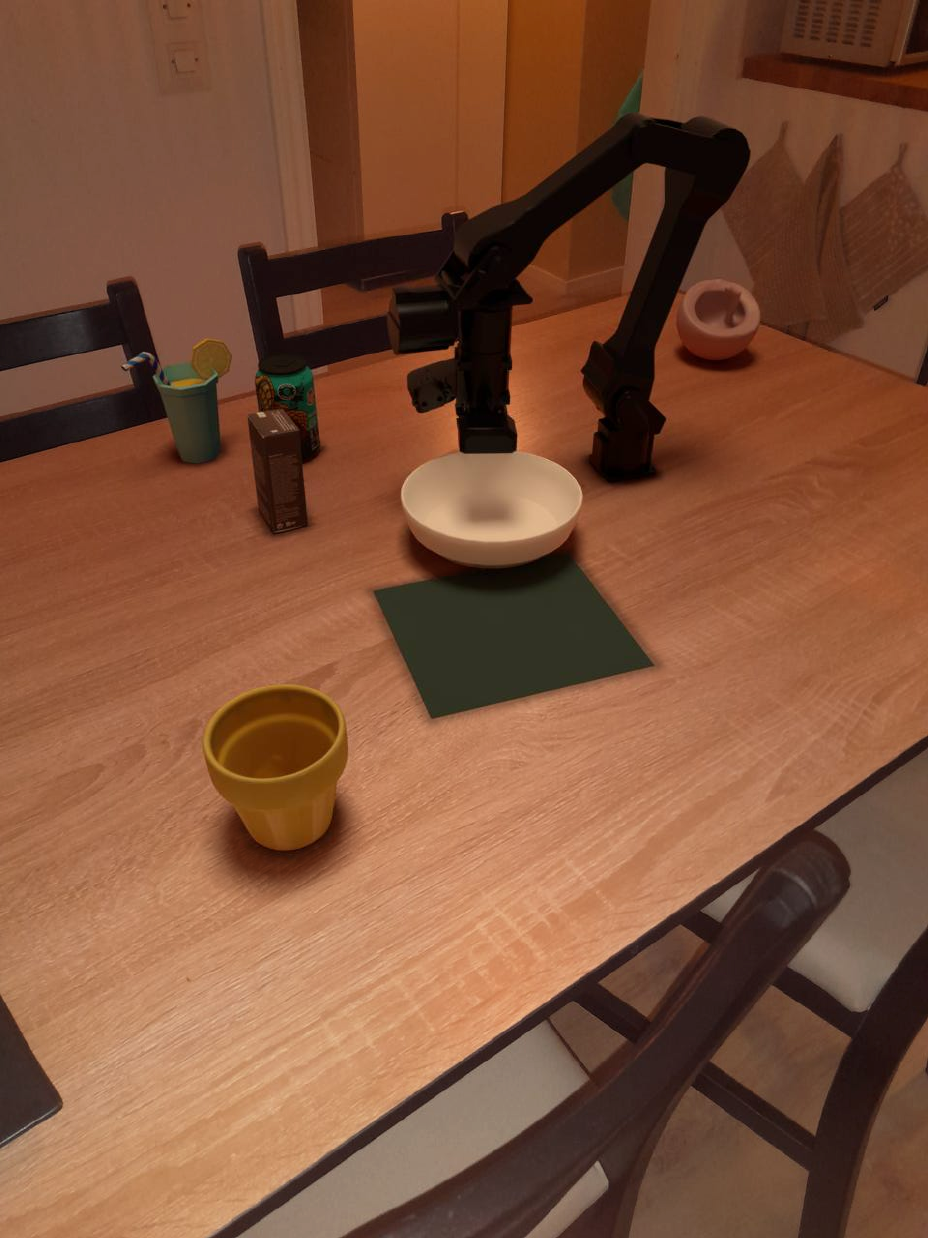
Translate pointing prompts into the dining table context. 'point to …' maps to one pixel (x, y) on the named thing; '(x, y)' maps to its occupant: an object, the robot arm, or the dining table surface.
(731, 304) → the mortar and pestle
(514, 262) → the robot arm
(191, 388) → the cup
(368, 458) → the dining table surface
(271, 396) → the green cylinder
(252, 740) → the flower pot
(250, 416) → the box
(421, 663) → the mat
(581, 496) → the bowl
